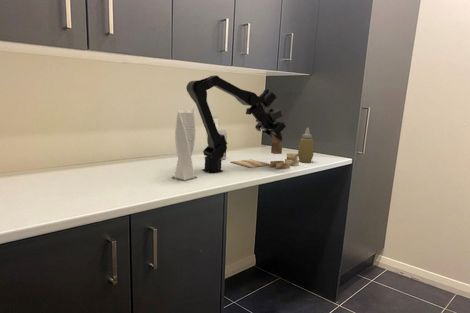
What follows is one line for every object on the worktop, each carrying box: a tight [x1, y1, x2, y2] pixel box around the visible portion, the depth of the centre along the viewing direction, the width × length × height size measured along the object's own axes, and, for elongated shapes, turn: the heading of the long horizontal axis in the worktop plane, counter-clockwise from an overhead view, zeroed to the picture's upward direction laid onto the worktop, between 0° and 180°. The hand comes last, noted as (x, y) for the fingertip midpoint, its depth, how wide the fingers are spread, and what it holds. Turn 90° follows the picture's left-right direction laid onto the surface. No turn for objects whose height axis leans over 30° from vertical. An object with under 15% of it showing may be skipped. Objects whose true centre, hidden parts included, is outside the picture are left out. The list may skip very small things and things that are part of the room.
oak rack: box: [269, 160, 291, 170], centre depth 158 cm, size 7×6×2 cm
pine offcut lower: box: [284, 158, 300, 167], centre depth 165 cm, size 5×5×3 cm
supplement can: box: [217, 128, 228, 161], centre depth 172 cm, size 8×8×15 cm
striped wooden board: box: [229, 158, 270, 169], centre depth 163 cm, size 14×14×1 cm
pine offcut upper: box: [285, 152, 299, 161], centre depth 164 cm, size 4×4×3 cm
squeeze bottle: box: [297, 127, 314, 164], centre depth 174 cm, size 8×8×18 cm
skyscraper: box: [171, 105, 198, 182], centre depth 127 cm, size 8×8×28 cm
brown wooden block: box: [270, 131, 284, 155], centre depth 157 cm, size 4×3×10 cm
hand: (279, 139), depth 157 cm, fingers closed on brown wooden block, 3 cm apart
